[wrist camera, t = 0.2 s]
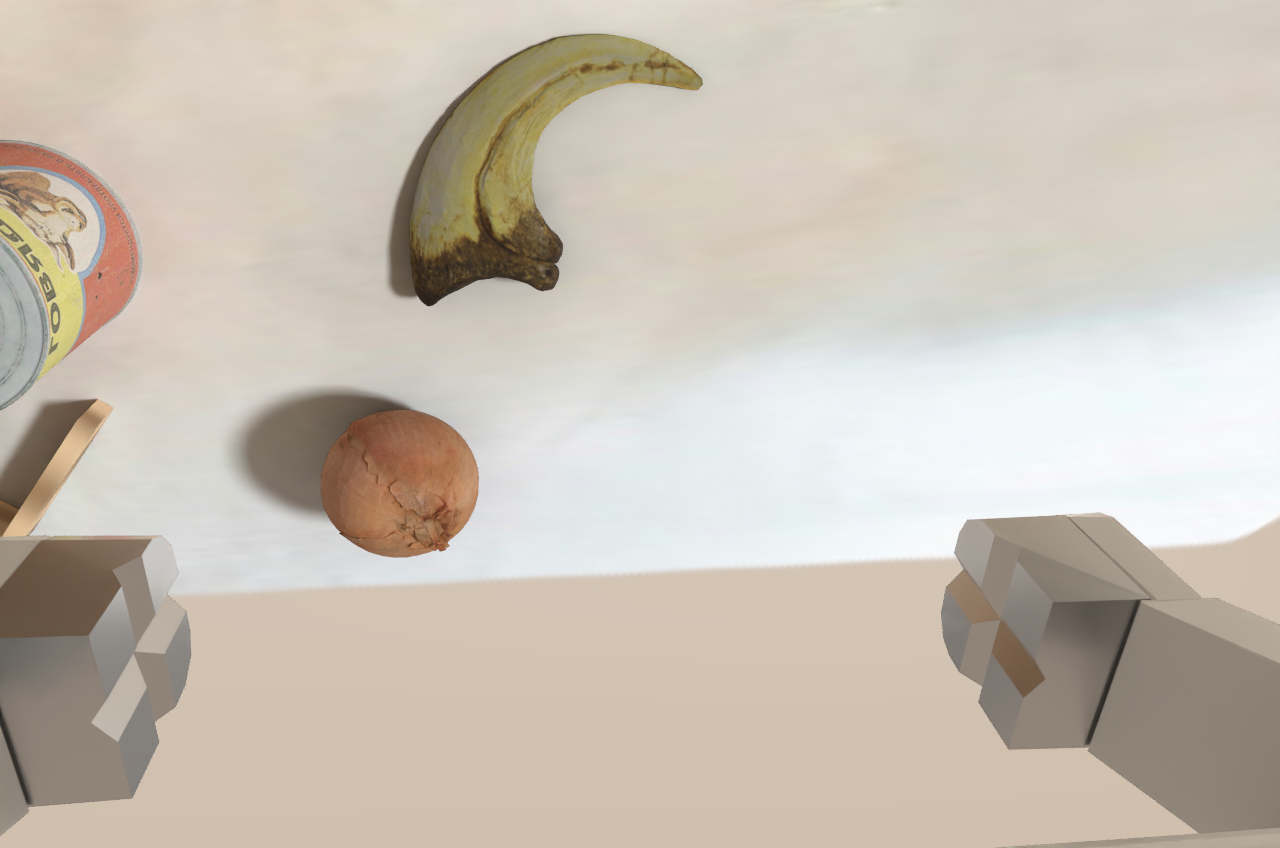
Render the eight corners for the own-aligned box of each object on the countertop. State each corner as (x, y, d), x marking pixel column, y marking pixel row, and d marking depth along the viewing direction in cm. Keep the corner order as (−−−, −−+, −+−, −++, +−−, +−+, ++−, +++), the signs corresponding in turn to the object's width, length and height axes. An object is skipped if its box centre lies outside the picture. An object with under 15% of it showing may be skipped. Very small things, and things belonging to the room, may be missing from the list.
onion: (468, 438, 64) (529, 527, 57) (356, 519, 63) (405, 619, 56) (397, 350, 57) (457, 439, 50) (270, 440, 56) (314, 543, 49)
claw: (508, 340, 58) (507, 358, 55) (364, 248, 55) (355, 263, 52) (696, 75, 53) (707, 79, 50) (551, -45, 50) (553, -48, 47)
